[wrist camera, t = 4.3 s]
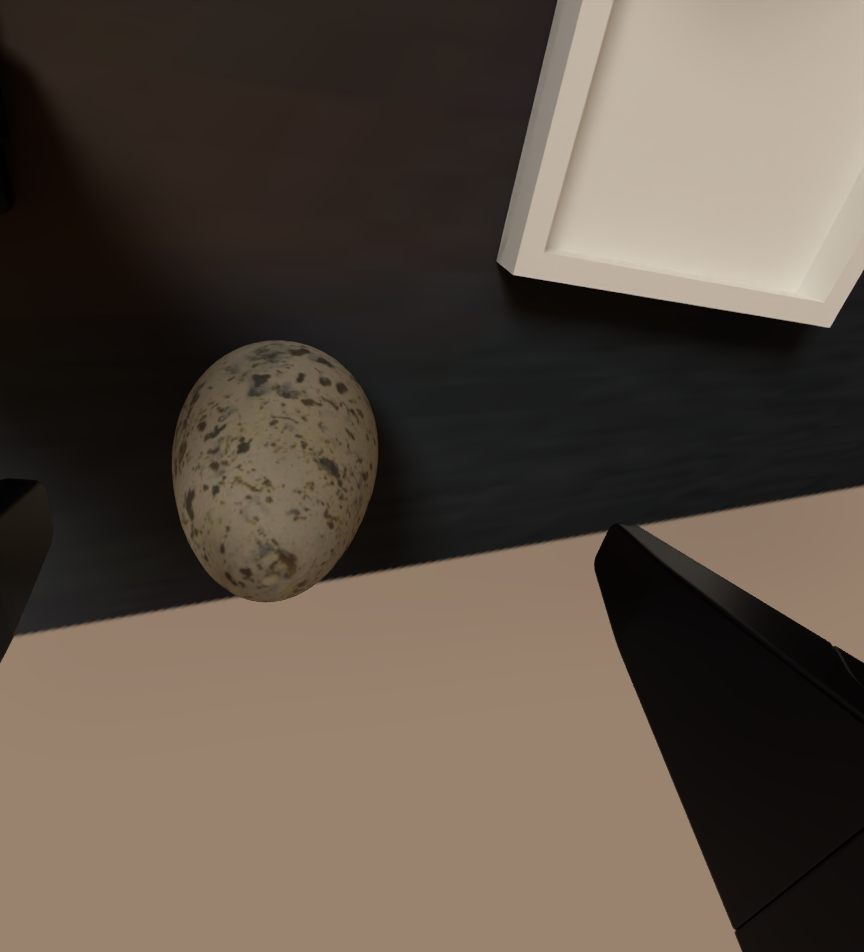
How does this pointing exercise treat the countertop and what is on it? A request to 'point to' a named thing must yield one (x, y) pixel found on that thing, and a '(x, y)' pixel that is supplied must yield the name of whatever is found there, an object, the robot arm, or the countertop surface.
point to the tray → (698, 155)
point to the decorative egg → (273, 467)
